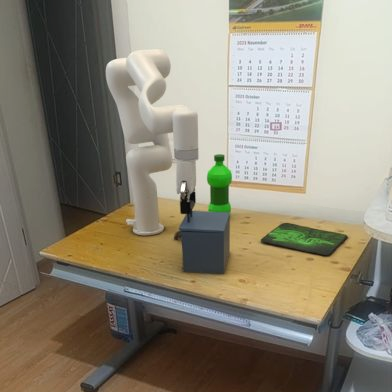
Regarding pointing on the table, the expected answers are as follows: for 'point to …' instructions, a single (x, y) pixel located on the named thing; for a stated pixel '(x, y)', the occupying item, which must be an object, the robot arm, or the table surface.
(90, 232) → the table surface
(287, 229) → the mouse mat
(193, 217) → the chest lid
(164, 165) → the robot arm
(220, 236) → the toy chest
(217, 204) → the plastic bottle
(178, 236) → the rusty metal lantern
